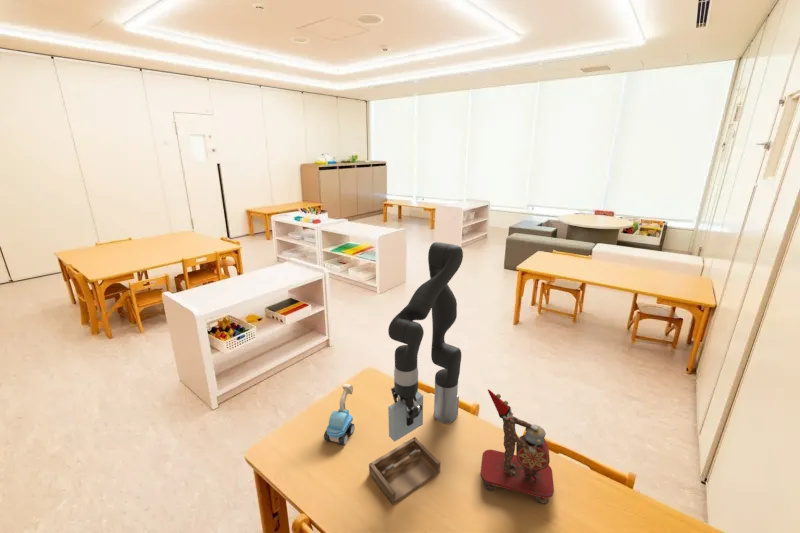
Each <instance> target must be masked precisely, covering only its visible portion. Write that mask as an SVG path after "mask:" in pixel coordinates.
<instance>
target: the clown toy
mask: <svg viewBox="0 0 800 533" xmlns="http://www.w3.org/2000/svg"><path fill="white" fill-rule="evenodd" d="M487 392H488V395H489V396H490V398H491V401H492V402H493V406H495V410H496V411H497V414H498V416H499V418H501V419H502V422H503V423H502V426H503V427H502V428H503V429H502V430H503V435H504V437H503V447H504V451H500V450H494V449H486V450H484V451H483V452H482V456H481V466H480V475H479V476H480V477H481V478H480V479H481V480H482V481H483V482H484V483H483V487H484V489H486V490H487V491H490V492H493V491H495V490H496V488H497V487H500V488H503V489H507V490H512V491H514V492H515V491H516V492H518V493H523V494H526V495H530V496H535V501H536V502H537V504H540V505H547V504H548V503H549V499H550V498H552V497H553V495H554V492H555V487H554V486H555V485H554V477H553V475H554V474H553V470H552V467H551V466H550V460H551V458H550V450H549V445H548V442H547V441H546V439H545V438H546V435H547V434H546V430H545V429H544V428H543V427H541V426H540V425H537V424H531V423H529V422H527V421H524V420H522V419H520V418H518V417H516V416H513V415H514V413H513V412H512V408H511V405H509V401H508V400H504V401H503V399H501V397H502V396H501V394H500V393H497V394H495V393H494V392H493V391H491V390H490V389H487ZM516 425H518V426H521V427H524V428H525V429H524V430H525V434H523V435H521V436H518V434H517V431H516ZM515 450H516V451H515Z"/></svg>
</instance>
